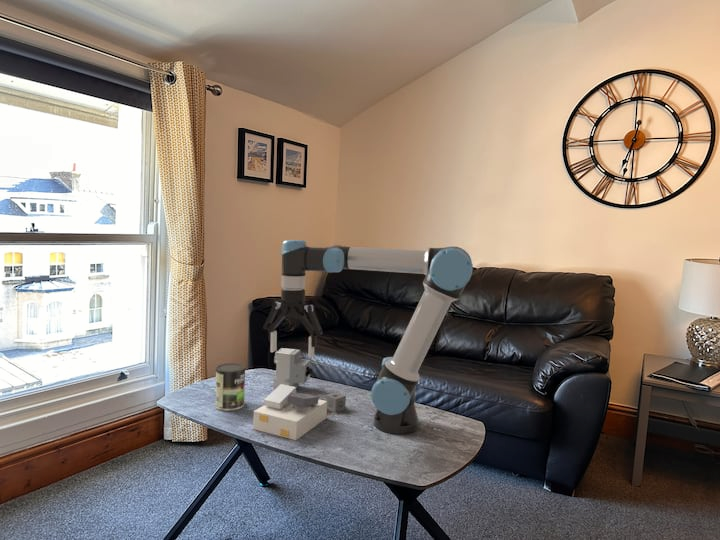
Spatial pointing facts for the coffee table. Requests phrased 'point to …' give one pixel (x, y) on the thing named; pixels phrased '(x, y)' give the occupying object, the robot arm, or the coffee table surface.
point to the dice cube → (336, 402)
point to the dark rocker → (303, 399)
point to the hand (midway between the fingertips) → (292, 353)
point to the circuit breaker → (291, 368)
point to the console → (289, 419)
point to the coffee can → (230, 386)
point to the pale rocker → (279, 396)
